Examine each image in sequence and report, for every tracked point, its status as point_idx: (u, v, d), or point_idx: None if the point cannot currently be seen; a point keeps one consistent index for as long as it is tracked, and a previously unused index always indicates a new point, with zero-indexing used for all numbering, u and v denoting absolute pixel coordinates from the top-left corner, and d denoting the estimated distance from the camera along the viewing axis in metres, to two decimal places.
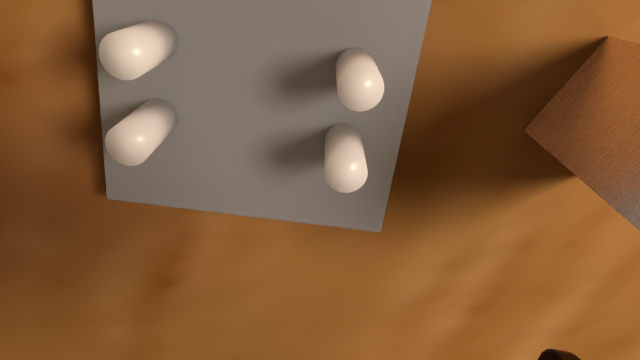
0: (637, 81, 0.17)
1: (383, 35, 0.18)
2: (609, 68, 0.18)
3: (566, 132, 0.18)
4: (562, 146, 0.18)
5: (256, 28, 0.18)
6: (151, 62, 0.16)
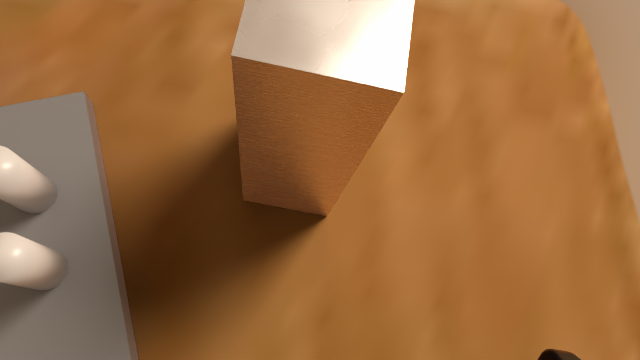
0: None
1: (55, 160, 0.20)
2: None
3: None
4: None
5: None
6: None
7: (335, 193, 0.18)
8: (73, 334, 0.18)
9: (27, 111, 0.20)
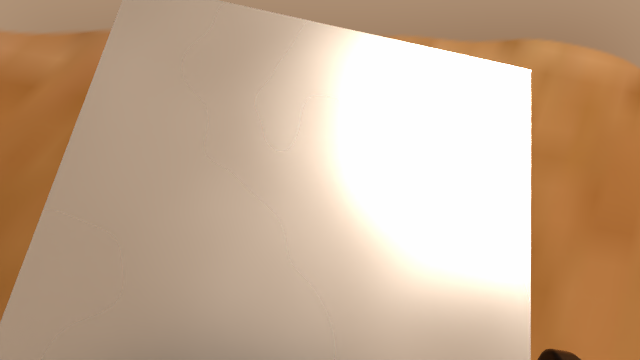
0: None
1: None
2: None
3: None
4: None
5: None
6: None
7: None
8: None
9: None
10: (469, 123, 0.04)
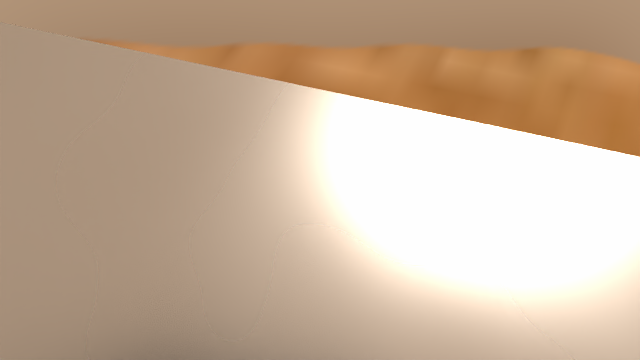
0: None
1: None
2: None
3: None
4: None
5: None
6: None
7: None
8: None
9: None
10: (569, 267, 0.03)
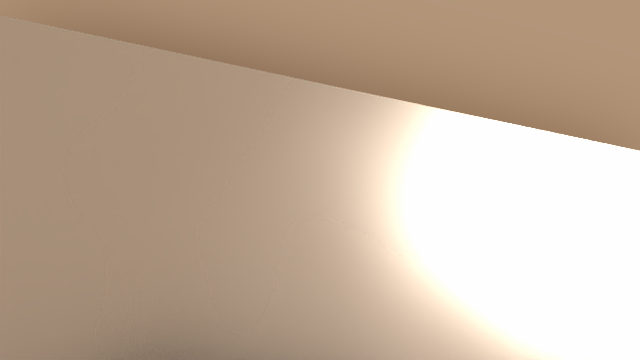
0: None
1: None
2: None
3: None
4: None
5: None
6: None
7: None
8: None
9: None
10: (574, 261, 0.03)
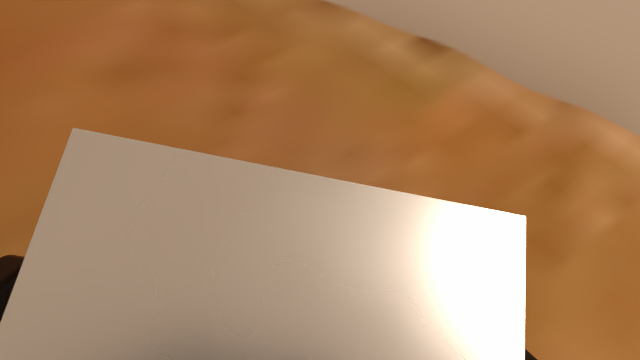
0: None
1: None
2: None
3: None
4: None
5: None
6: None
7: None
8: None
9: None
10: (455, 288, 0.04)
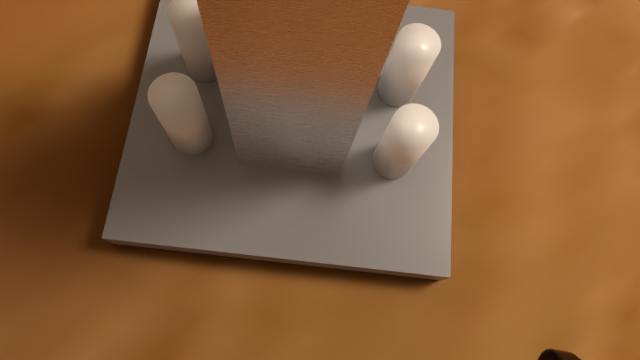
0: None
1: None
2: None
3: None
4: None
5: None
6: None
7: (346, 138, 0.15)
8: (403, 228, 0.18)
9: None
10: None
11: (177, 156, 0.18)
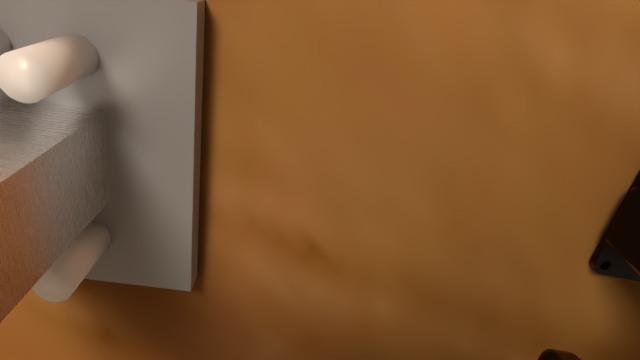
0: None
1: None
2: None
3: None
4: None
5: None
6: None
7: (55, 152, 0.15)
8: (150, 49, 0.17)
9: None
10: None
11: (114, 246, 0.21)
